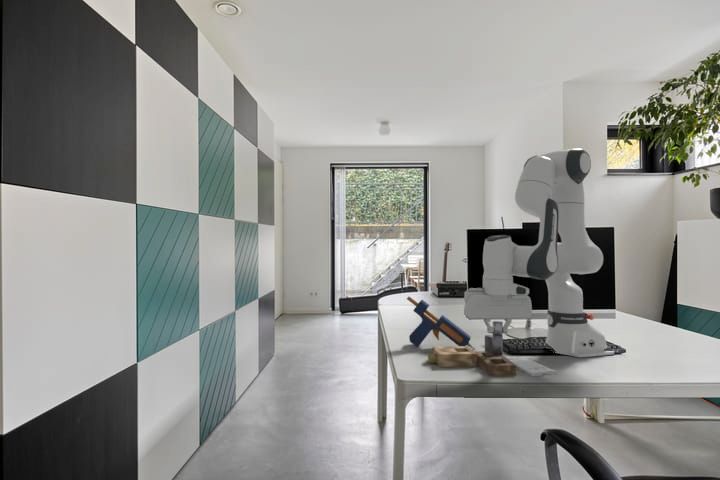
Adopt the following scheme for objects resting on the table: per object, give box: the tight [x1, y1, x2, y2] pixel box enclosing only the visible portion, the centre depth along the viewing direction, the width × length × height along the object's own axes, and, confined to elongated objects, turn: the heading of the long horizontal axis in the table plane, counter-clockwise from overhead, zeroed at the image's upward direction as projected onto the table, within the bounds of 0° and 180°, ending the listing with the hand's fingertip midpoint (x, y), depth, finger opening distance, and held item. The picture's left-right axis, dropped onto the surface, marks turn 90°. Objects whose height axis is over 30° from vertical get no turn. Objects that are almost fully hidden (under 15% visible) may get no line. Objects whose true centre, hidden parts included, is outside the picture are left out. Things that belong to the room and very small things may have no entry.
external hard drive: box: [509, 358, 556, 377], centre depth 128 cm, size 2×8×12 cm
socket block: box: [432, 345, 478, 368], centre depth 134 cm, size 12×9×4 cm
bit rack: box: [473, 334, 517, 377], centre depth 129 cm, size 8×15×9 cm, turn 3°
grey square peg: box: [491, 320, 504, 356], centre depth 125 cm, size 3×3×10 cm
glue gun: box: [406, 296, 476, 350], centre depth 153 cm, size 6×31×15 cm
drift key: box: [427, 351, 437, 365], centre depth 134 cm, size 8×3×3 cm, turn 93°
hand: (497, 332), depth 125 cm, fingers closed on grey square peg, 3 cm apart
